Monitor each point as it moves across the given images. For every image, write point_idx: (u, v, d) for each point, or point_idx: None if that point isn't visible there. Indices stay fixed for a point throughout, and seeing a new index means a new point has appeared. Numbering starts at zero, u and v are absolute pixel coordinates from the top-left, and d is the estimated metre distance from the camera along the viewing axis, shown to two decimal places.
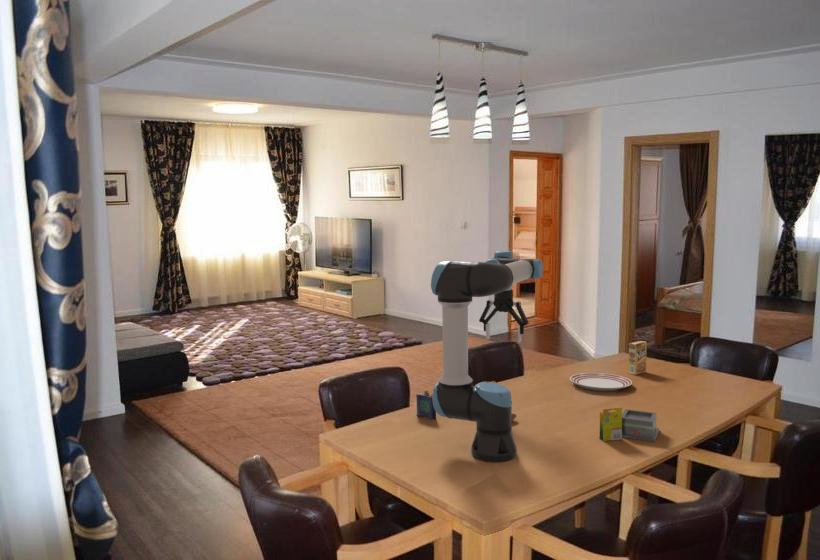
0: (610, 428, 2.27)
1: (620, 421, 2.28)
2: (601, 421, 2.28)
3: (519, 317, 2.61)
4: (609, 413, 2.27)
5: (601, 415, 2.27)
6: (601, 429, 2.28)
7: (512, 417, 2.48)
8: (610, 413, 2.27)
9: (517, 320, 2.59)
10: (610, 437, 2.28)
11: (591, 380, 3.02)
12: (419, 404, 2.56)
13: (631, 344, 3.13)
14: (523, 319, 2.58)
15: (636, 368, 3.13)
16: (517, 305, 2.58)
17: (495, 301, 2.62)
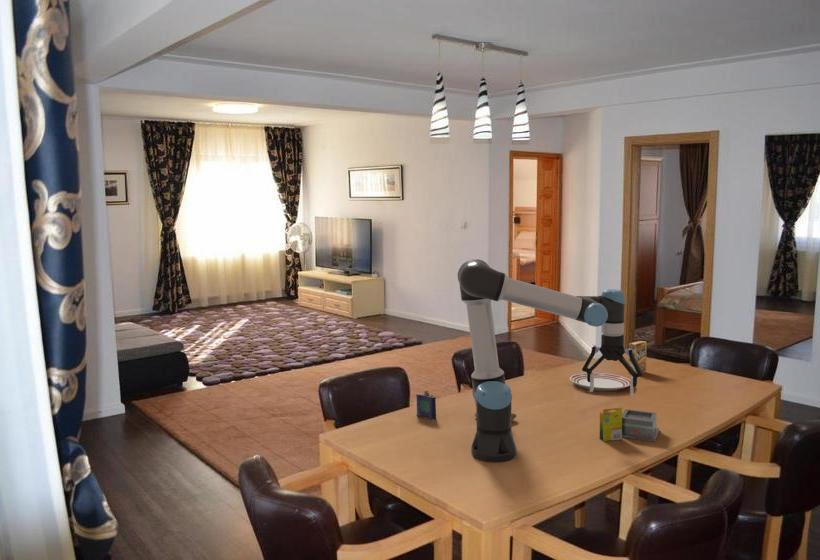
0: (610, 428, 2.27)
1: (620, 421, 2.28)
2: (601, 421, 2.28)
3: (631, 367, 2.24)
4: (609, 413, 2.27)
5: (601, 415, 2.27)
6: (601, 429, 2.28)
7: (512, 417, 2.48)
8: (610, 413, 2.27)
9: (630, 370, 2.22)
10: (610, 437, 2.28)
11: None
12: (419, 404, 2.56)
13: (631, 344, 3.13)
14: (637, 370, 2.21)
15: None
16: (630, 353, 2.22)
17: (602, 348, 2.26)
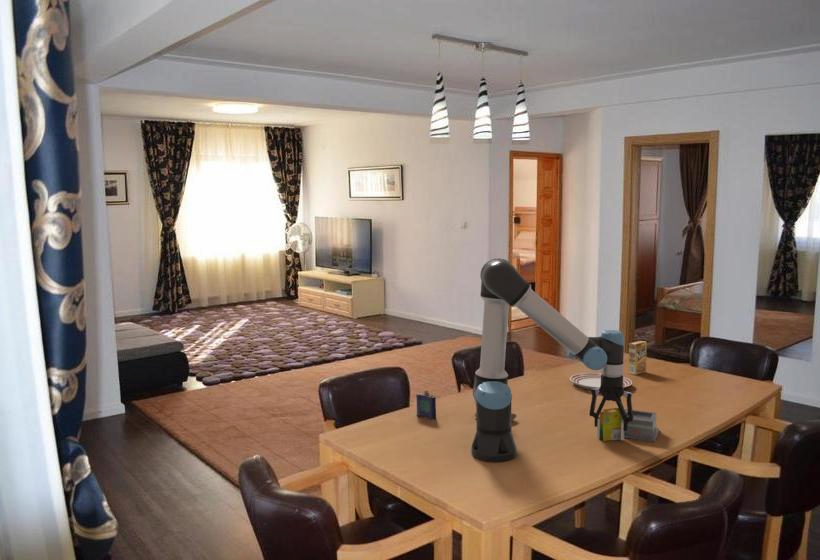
0: (610, 428, 2.27)
1: (620, 421, 2.28)
2: (601, 421, 2.28)
3: (624, 410, 2.27)
4: (609, 413, 2.26)
5: (601, 415, 2.27)
6: (601, 429, 2.28)
7: (512, 417, 2.48)
8: (610, 413, 2.27)
9: (622, 414, 2.25)
10: (610, 437, 2.28)
11: (591, 380, 3.02)
12: (419, 404, 2.56)
13: (631, 344, 3.13)
14: (630, 414, 2.24)
15: (636, 368, 3.13)
16: (628, 397, 2.24)
17: (601, 388, 2.28)
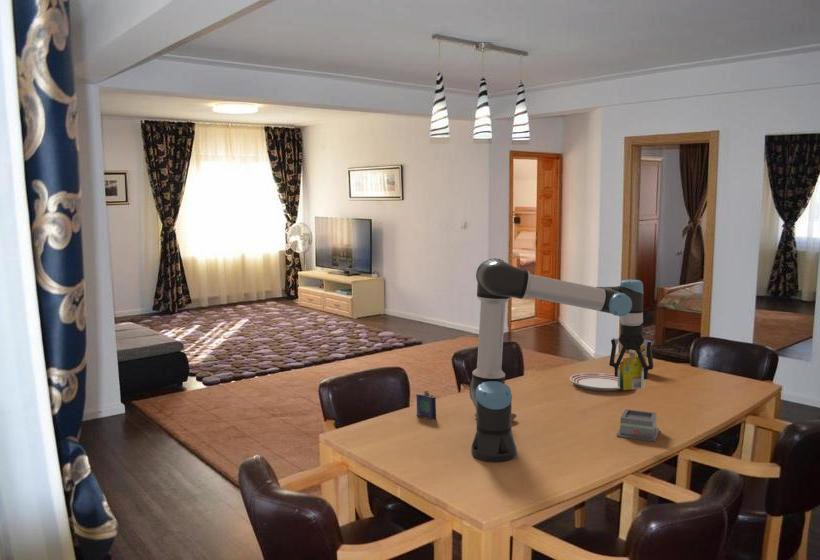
0: (630, 377, 2.28)
1: (640, 370, 2.29)
2: (621, 370, 2.29)
3: (644, 359, 2.28)
4: (629, 362, 2.28)
5: (621, 364, 2.29)
6: (621, 378, 2.29)
7: (512, 417, 2.48)
8: (630, 362, 2.28)
9: (642, 363, 2.26)
10: (631, 386, 2.29)
11: (591, 380, 3.02)
12: (419, 404, 2.56)
13: None
14: (650, 362, 2.25)
15: None
16: (648, 345, 2.25)
17: (621, 337, 2.29)
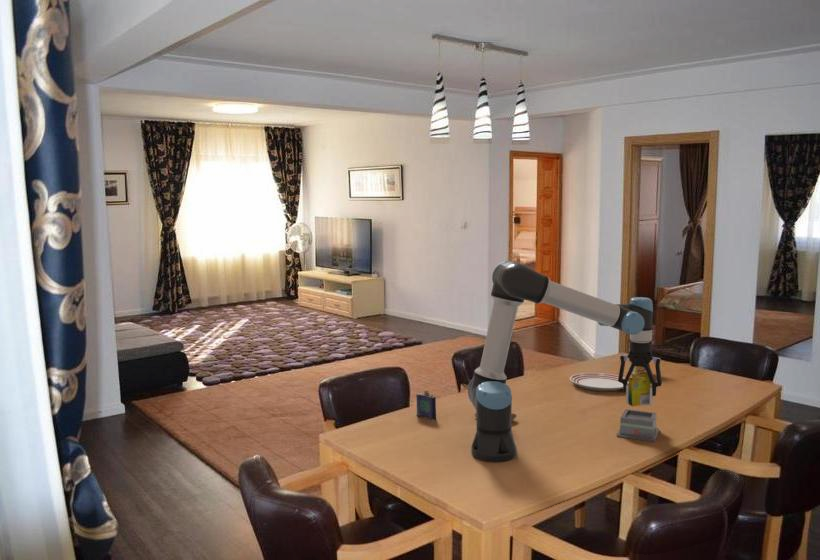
0: (638, 393, 2.31)
1: (649, 386, 2.32)
2: (630, 386, 2.32)
3: (653, 376, 2.31)
4: (638, 378, 2.30)
5: (630, 381, 2.31)
6: (630, 394, 2.32)
7: (512, 417, 2.48)
8: (639, 378, 2.31)
9: (651, 379, 2.29)
10: (639, 402, 2.31)
11: (591, 380, 3.02)
12: (419, 404, 2.56)
13: None
14: (658, 379, 2.28)
15: (636, 368, 3.13)
16: (657, 362, 2.28)
17: (630, 354, 2.32)
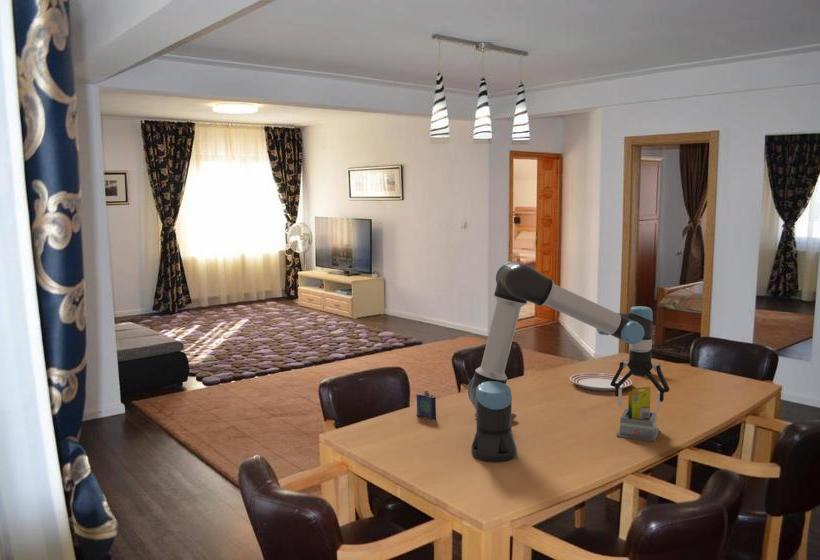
0: (638, 407, 2.32)
1: (648, 400, 2.32)
2: (630, 400, 2.32)
3: (658, 382, 2.30)
4: (638, 392, 2.31)
5: (630, 394, 2.32)
6: (630, 408, 2.32)
7: (512, 417, 2.48)
8: (639, 392, 2.31)
9: (657, 386, 2.28)
10: (639, 416, 2.32)
11: (591, 380, 3.02)
12: (419, 404, 2.56)
13: None
14: (664, 385, 2.27)
15: None
16: (658, 369, 2.28)
17: (630, 363, 2.32)
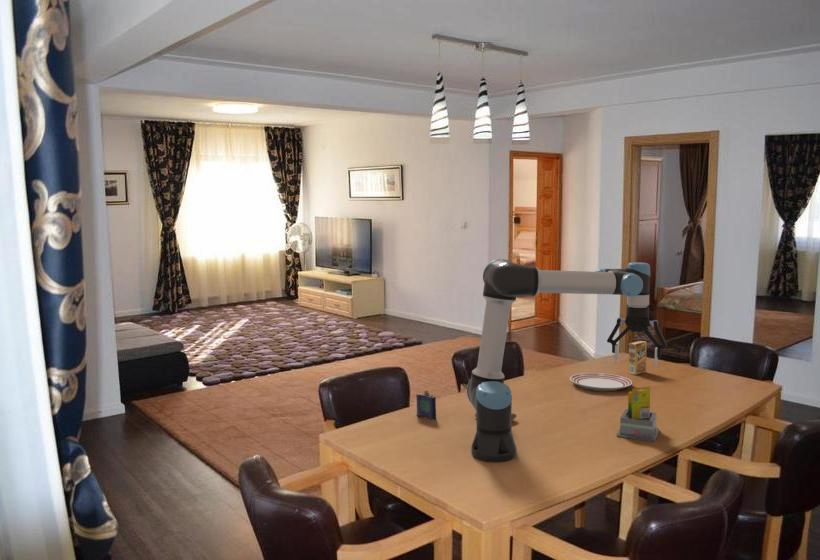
0: (638, 407, 2.32)
1: (648, 400, 2.32)
2: (630, 400, 2.32)
3: (655, 338, 2.30)
4: (638, 392, 2.31)
5: (630, 394, 2.32)
6: (630, 408, 2.32)
7: (512, 417, 2.48)
8: (639, 392, 2.31)
9: (654, 341, 2.28)
10: (639, 416, 2.32)
11: (591, 380, 3.02)
12: (419, 404, 2.56)
13: (631, 344, 3.13)
14: (662, 340, 2.26)
15: (636, 368, 3.13)
16: (655, 324, 2.27)
17: (627, 319, 2.31)
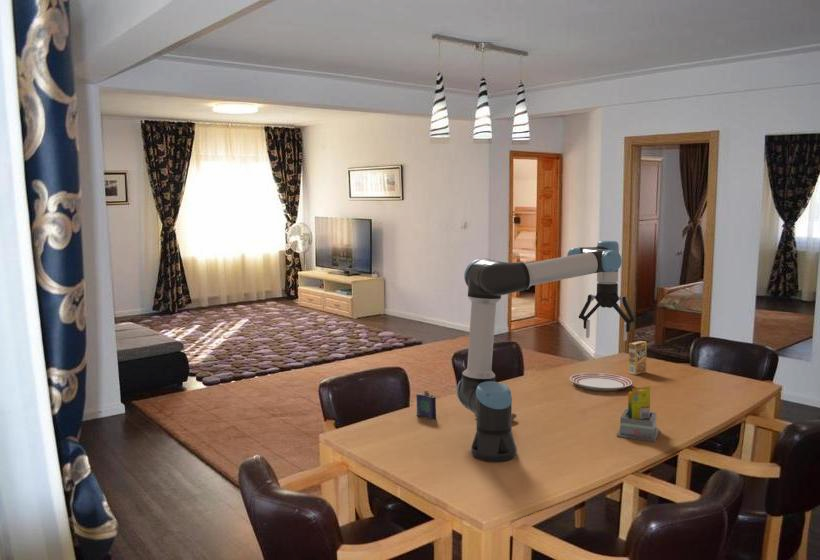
0: (638, 407, 2.32)
1: (648, 400, 2.32)
2: (630, 400, 2.32)
3: (624, 313, 2.39)
4: (638, 392, 2.31)
5: (630, 394, 2.32)
6: (630, 408, 2.32)
7: (512, 417, 2.48)
8: (639, 392, 2.31)
9: (623, 316, 2.37)
10: (639, 416, 2.32)
11: (591, 380, 3.02)
12: (419, 404, 2.56)
13: (631, 344, 3.13)
14: (630, 315, 2.36)
15: (636, 368, 3.13)
16: (623, 300, 2.36)
17: (598, 296, 2.40)
